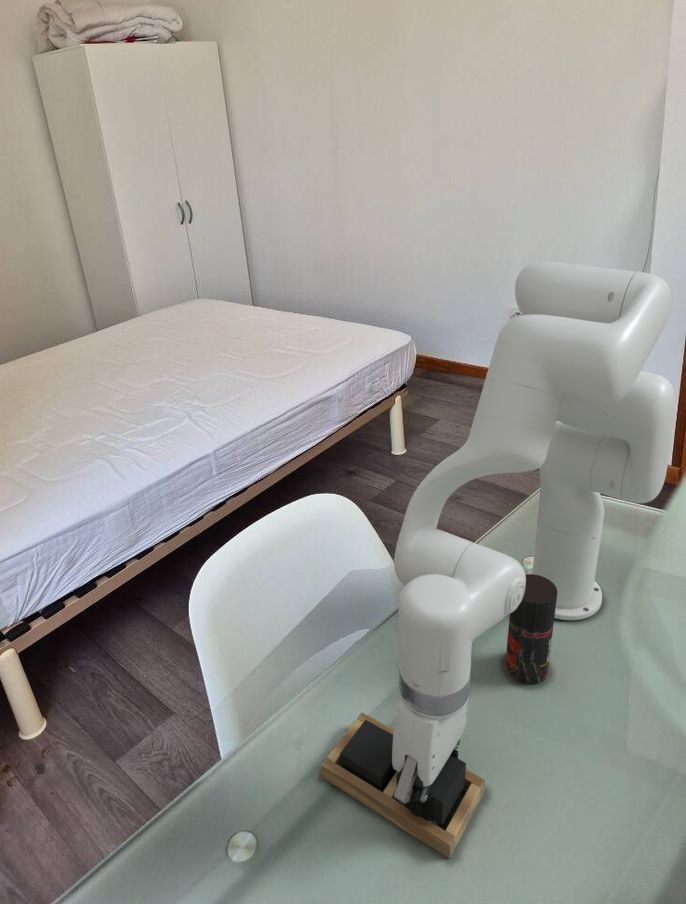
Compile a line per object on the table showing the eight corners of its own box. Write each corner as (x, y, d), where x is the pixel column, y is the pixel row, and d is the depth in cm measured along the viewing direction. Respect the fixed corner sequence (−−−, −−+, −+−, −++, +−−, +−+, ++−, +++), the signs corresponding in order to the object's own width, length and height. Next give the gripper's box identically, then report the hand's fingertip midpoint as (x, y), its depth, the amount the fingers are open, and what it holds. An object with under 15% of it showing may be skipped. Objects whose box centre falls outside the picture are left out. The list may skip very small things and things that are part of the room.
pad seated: (366, 740, 91) (365, 719, 90) (405, 762, 88) (405, 741, 86) (341, 774, 87) (339, 753, 85) (381, 799, 84) (381, 778, 82)
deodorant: (549, 686, 97) (560, 605, 91) (506, 682, 98) (513, 601, 92) (545, 655, 102) (554, 576, 96) (504, 650, 104) (510, 572, 97)
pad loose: (420, 760, 86) (420, 738, 84) (465, 785, 83) (466, 762, 81) (396, 797, 82) (396, 775, 80) (442, 825, 78) (443, 803, 77)
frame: (362, 724, 94) (361, 712, 92) (484, 793, 84) (485, 779, 83) (322, 778, 87) (321, 764, 86) (449, 859, 77) (450, 845, 76)
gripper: (439, 618, 82) (436, 723, 90) (361, 721, 70) (366, 831, 78) (499, 644, 78) (490, 751, 86) (427, 757, 66) (425, 871, 74)
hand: (431, 788), depth 82 cm, fingers closed on pad loose, 6 cm apart
